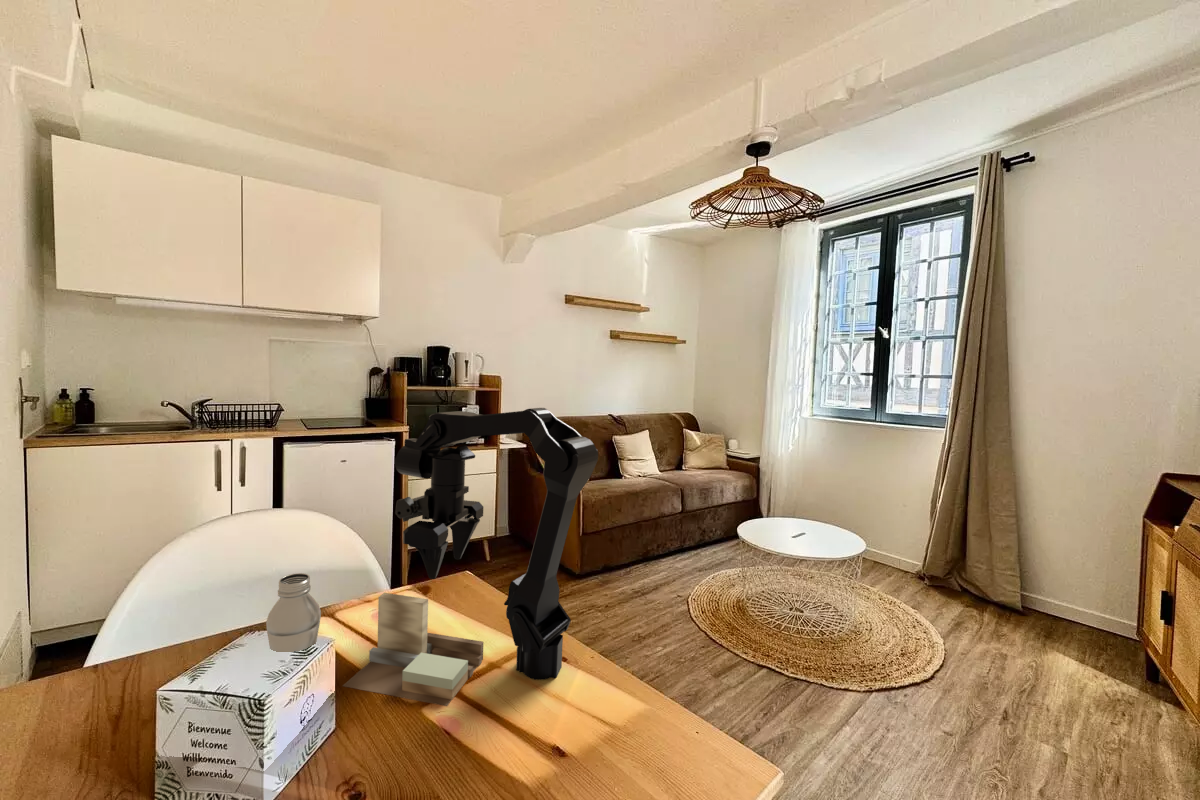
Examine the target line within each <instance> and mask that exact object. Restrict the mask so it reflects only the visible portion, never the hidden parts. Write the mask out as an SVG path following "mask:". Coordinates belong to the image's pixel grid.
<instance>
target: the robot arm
mask: <svg viewBox="0 0 1200 800" xmlns="http://www.w3.org/2000/svg"><path fill="white" fill-rule="evenodd" d="M426 422H427V423H426V425H425V426H424V428H423V429H422V431H421V433H420V434H419V436H418V438H412V437H411V438H405V439H404V440H403V441H404V445H403V446H401V448H400V449H399V450H398V452H397V454H396V457H395V458H394V467H395V469H396V471H397V472H398V473H399V474H401V475H405V476H408V477H409V476H410V477H414V478H421V479H427V480H428V479H430V487H429V488H426V489H425V491H424V492H423V493H424V495H421V496H417V497H414V498H411V497H410V496H407V497H404V498H400V499H398V500H396V503H395V512H394V514H395V515H396V516H397V518H399V519H401V520H402V521H403V522H409V520H413V519H415V518H419V517H422V518H421V519H422V520H418V521H416V522H414V523H413V524H411V525H409V526H407V527H406V528H405V529H404V530H403V531H402V543H403V544H404V545H408V546H409V547H411V548H414V549H416V550H417V551H418V552H419V554H420V556H421V558H422V561H423V564H424V567H425V569H426V570H425V571H426V573H427V577H428V578H429V579H431V580H435V579H437V576H438V574H439V571H440V568H441V565H442V563H443V559H444V555H445V553H446V550H447V547H448V545H449V541H447V540H448V536H449V528H450V530H451V536H452V537H451V538H452V539H451V540H452V549H453V550H452V551H453V558H454V559H455V560H461V559H462V557H463V554H464V553H465V551H466V549H467V546H468V544H469V542H470V540H471V538H472V536H473V534H474V532H475V530H476V528H477V526H478V525H479V523H480V522H481V520H480V519H482V518H483V517H484V506H483V505H482V503H481V502H480V501H475V500H466V499H465V494H467V493H468V492H469V490H470V488H469V486H468V485H465V484H466V483H465V476H466V461H468V460H474V459H475V458H476V455H475V453H474V452H473V451H472V450H471V449H469V447H468V445H467V444H463V445H457V447H456V448H455V447H452V446H454V445H456V444H460V443H466V442H469V441H472V440H476V439H478V438H481V437H490V436H492V437H493V436H504V435H518V434H524V435H526V436H527V437H528V439H529V442H530V445H531V446H532V448H533V451H534V452H535V454H536V455H537V456H538V457H539V458H541V460H542V461H543V462H544V463H543V474H542V475H543V479H544V483H545V487H546V495H545V500H544V503H543V507H542V510H541V515H540V517H539V518H540V519H539V522H538V526H537V530H536V533H535V534H536V535H535V539H534V542H533V547H532V549H531V554H530V558H529V561H528V562H529V563H528V566H527V570H526V572H525V573H524V574H522V575H520V576H519V577H516V578H515V579H513V580H511V582H510V584H509V587H508V593H507V594H508V595H507V598H506V600H505V601H504V602H503V604H504V606H506V610H505V611H506V612H505V614H506V615H505V616H506V619H507V620H508V623H509V627H510V631H511V635H512V639H513V642H514V643H513V644H514V646H515V647H516V660H515V661H516V664H515V666H516V667H515V670H516V671H517V672H519V673H522V674H524V675H525V677H527V678H528V679H531V680H537V681H544V680H548V679H551V678H552V679H557V677H558V676H559V674H560V672H561V669H562V663H563V645H564V644H563V641H564V635H563V634H564V632H566V631H567V630H568V629H569V627H570V624H571V621H572V620H571V617H570V616H569V615H568V613H567V611H566V610H565V609H564V607H563V606H562V604H561V603H560V601H559V600H560V599H559V598H560V586H559V583H558V578H557V575H558V570H559V566H560V563H561V558H562V554H563V551H564V547H565V543H566V540H567V535H568V531H569V528H570V525H571V521H572V517H573V513H574V510H575V506H576V502H577V499H578V496H579V494H580V493H581V491H582V490H583V488H584V487H585V485H586V484H587V483H588V481H589V480H590V478H591V476H592V474H593V471H594V470H595V467H596V465H597V462H598V460H599V451H598V449H597V448H596V446H595V443H593V441H592V440H591V439H589V438H588V437H585V436H583V435H581V434H580V433H579V432H578V431H577V430H576V429H574V427H572V426H570V425H568V424H567V423H565V422H564V421H562V420H561V419H559V418H557V417H556V416H555V414H553V413H552V412H551V411H550V410H549V409H547V408H545V407H534V408H532V407H531V408H527V409H525V410H520V411H519V410H517V411H509V412H500V413H498V412H497V413H488V414H487V413H486V414H481V413H479V414H478V413H476V412H470V411H464V410H463V411H462V410H459V411H445V412H435V413H432V414H430V415H429V417H428V420H427V421H426ZM450 446H451V447H450ZM425 520H426V521H425ZM427 520H432V521H427Z"/></svg>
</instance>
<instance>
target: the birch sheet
mask: <svg viewBox="0 0 1200 800" xmlns="http://www.w3.org/2000/svg"><path fill="white" fill-rule="evenodd" d="M377 603H378V605H377V608H378V609H377V612H378V613H377V648H381V649H387V650H392V651H398V652H404V653H410V654H416V655H419V654H420V653H427V633H428V626H429V625H428V623H429V622H428V621H429V620H428V619H429V598H423V597H415V596H409V595H403V594H396V593H389V592H384V593H382V594H381V595H379V596H378V602H377Z"/></svg>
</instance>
